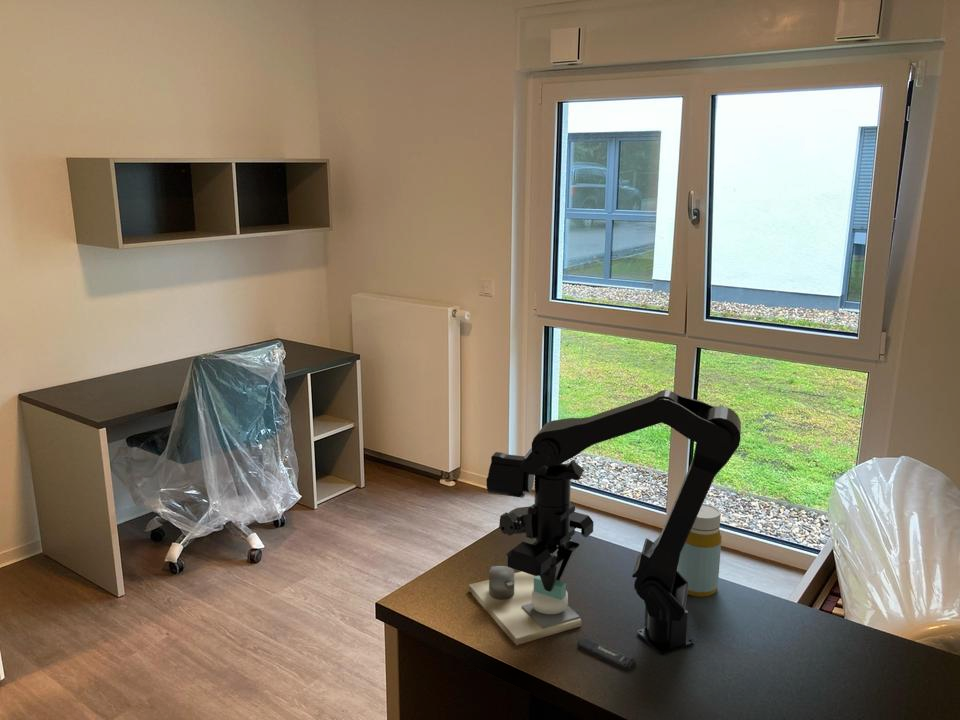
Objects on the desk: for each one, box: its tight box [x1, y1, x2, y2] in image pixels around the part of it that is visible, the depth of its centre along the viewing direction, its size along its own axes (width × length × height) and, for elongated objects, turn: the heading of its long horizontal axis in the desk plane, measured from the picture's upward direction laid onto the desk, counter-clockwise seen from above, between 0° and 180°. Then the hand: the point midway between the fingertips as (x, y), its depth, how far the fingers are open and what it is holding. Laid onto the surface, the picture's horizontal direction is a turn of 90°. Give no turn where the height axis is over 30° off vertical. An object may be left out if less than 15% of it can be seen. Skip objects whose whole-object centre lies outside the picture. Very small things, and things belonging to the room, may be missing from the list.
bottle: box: [677, 503, 722, 598], centre depth 136 cm, size 7×7×15 cm
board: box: [468, 565, 582, 646], centre depth 131 cm, size 18×12×5 cm, turn 25°
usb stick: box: [576, 636, 637, 672], centre depth 119 cm, size 10×3×2 cm, turn 48°
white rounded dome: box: [531, 576, 569, 614], centre depth 128 cm, size 6×6×4 cm
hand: (551, 588), depth 127 cm, fingers closed on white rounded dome, 2 cm apart
